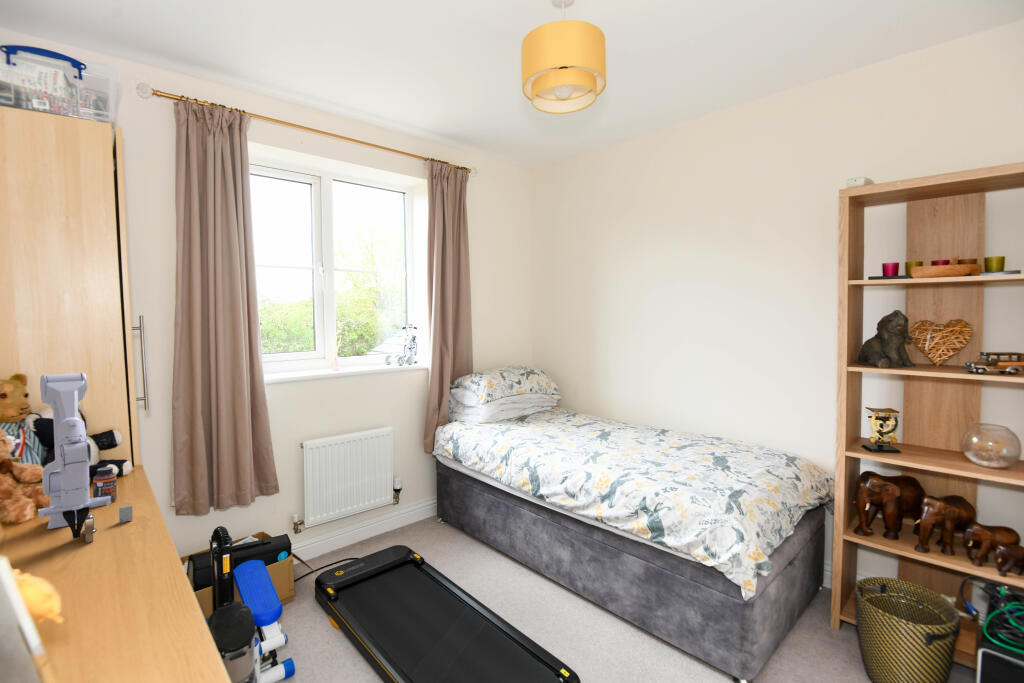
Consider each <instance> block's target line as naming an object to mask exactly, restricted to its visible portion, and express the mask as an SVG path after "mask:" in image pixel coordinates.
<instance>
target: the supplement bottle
mask: <svg viewBox="0 0 1024 683" xmlns="http://www.w3.org/2000/svg"><path fill="white" fill-rule="evenodd" d="M113 471H114V469H113V467H112V466H105V467H104V466H103V467H100V468H98V469H96V475H95V476H93V477H92V489H93V490H92V495H93V496H92V498H99V497H106V496H110V497H111V502H112V503H114V502H116V501H117V498H118V497H117V490H118V489H117V485H118V484H117V474H116V473H115V472H113ZM115 500H116V501H115Z"/></svg>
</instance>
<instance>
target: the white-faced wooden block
mask: <svg viewBox="0 0 1024 683" xmlns="http://www.w3.org/2000/svg"><path fill="white" fill-rule="evenodd" d="M118 518H119V521H118V523H119V524H123V523H122V522H125V523H127V522H126V521H130V520H132V521H133V504H128V505H122V506H119V507H118ZM130 522H131V521H130Z"/></svg>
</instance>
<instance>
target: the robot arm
mask: <svg viewBox="0 0 1024 683" xmlns="http://www.w3.org/2000/svg"><path fill="white" fill-rule="evenodd" d="M39 391H40V399H41V403H42V404H46V405H49V406H50V409H51V410H52V414H53V415H52V418H53V439H54V440H53V441H54V442H53V443H54V460H53V461H52V462H50V463H49V464H47V465H46V466H45V467H44V468H43V470H42V478H41V479H42V481H41V483H42V485H41V486H42V493H43V494H44V495H45V496H48V497H49V506H47V507H43V508H38V510H37V511H38V519H43V518H45V517H49V518H48V524H47V528H46V529H47V530H52V529H57V528H58V529H59V528H63V527H67V526H69V528H70V529H69V530H70V531H71V534H72V539H78V538H80V537H81V534H82V531H83V530H82V529H83V526H84V525H85V520H86V518H87V516H88V515H90V514H89V513H90V508H95V507H101V506H110V505H111V504H112V503H111V497H110V496H106V497H99V498H93V497H91V498H90V462H91V461H92V456H93V455H92V454H93V453H92V452H93V451H92V445H91V442H90V440H89V437H87V432H86V431H87V430H86V424H85V421H84V420H83V419H80V418H79V402H80V401H83V399H84V397H85V396H86V393H87V391H88V378H87V374H86V373H84V372H79V373H78V372H77V373H76V372H75V373H61V374H60V373H59V374H57V373H56V374H42V375H41V376H40V378H39Z"/></svg>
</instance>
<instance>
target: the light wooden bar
mask: <svg viewBox="0 0 1024 683" xmlns="http://www.w3.org/2000/svg"><path fill="white" fill-rule="evenodd" d="M91 542H94V532H93V519H89V520H86V534H85V543H86V544H88V543H91Z"/></svg>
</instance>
